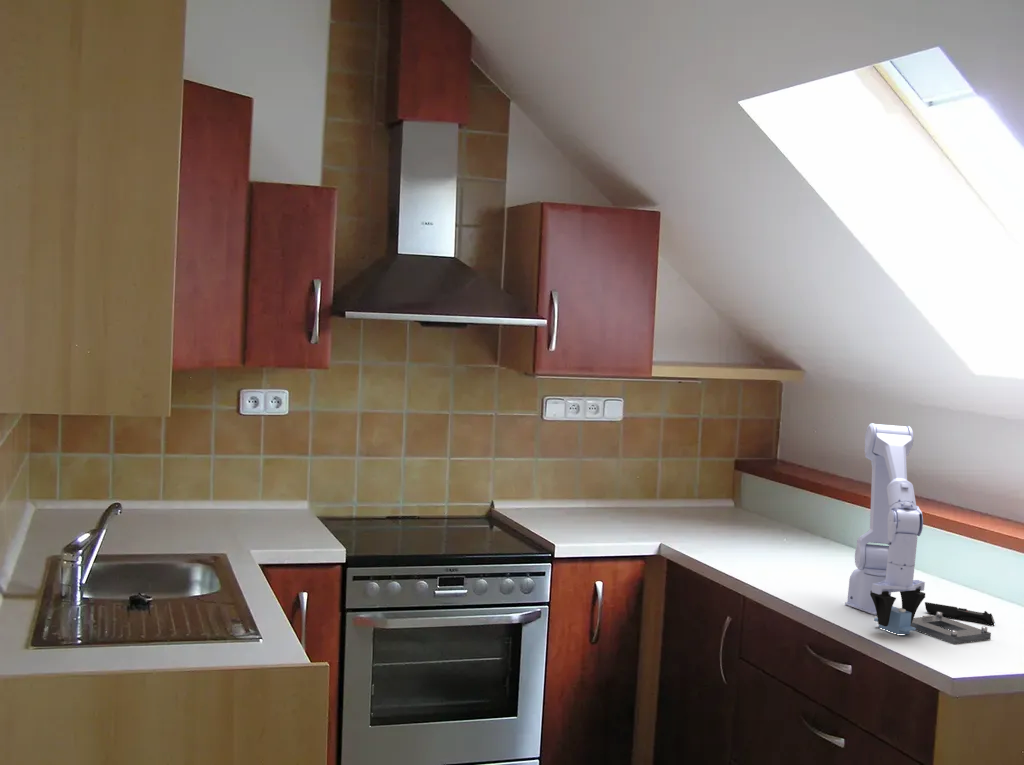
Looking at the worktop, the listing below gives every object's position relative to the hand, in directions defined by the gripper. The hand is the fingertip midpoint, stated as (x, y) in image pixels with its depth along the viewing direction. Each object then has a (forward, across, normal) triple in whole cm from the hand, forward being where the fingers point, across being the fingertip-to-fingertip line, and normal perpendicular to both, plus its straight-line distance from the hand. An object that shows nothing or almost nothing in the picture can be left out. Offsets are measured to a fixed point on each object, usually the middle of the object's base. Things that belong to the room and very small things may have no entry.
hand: (894, 623), depth 246 cm
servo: (+2, 0, 0) cm, 2 cm away
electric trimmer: (+2, +26, +3) cm, 26 cm away
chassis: (+2, +12, -4) cm, 13 cm away
